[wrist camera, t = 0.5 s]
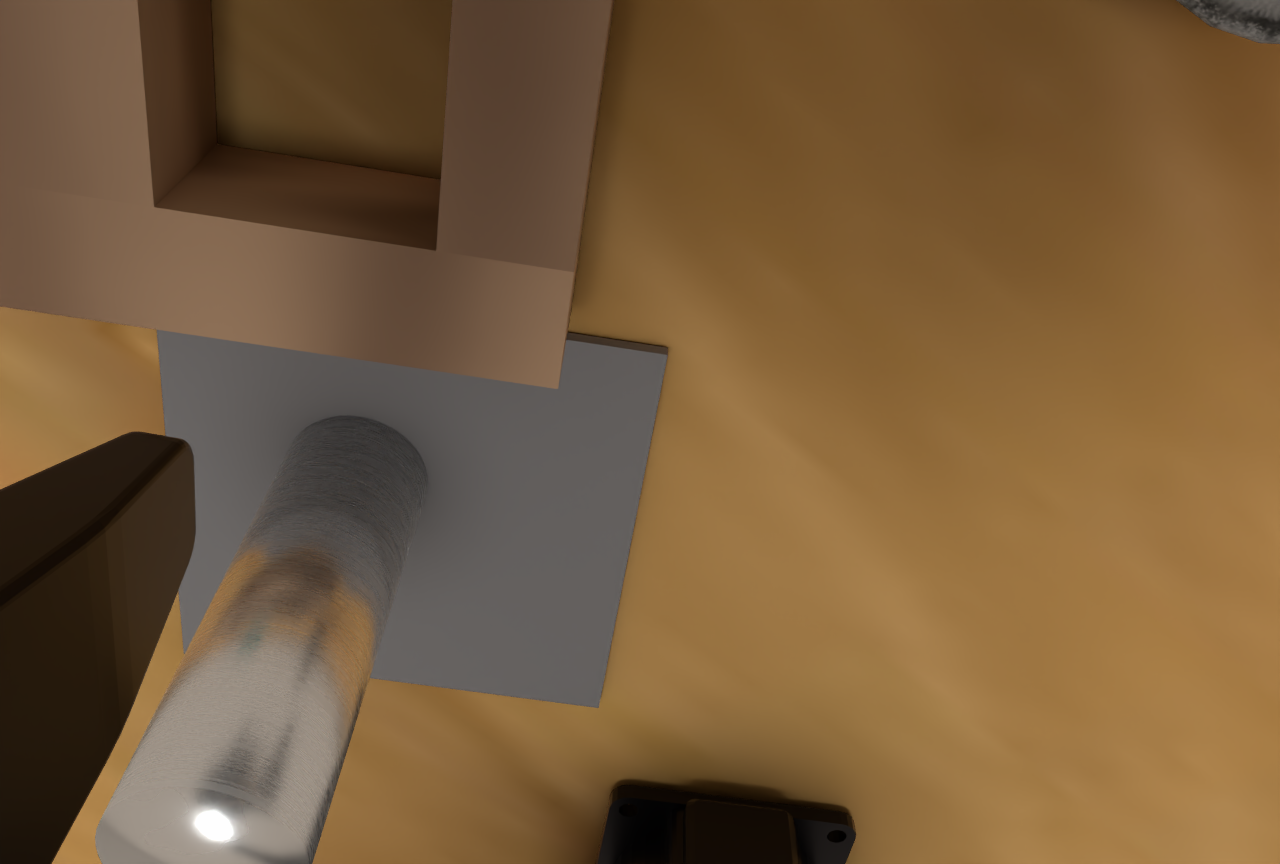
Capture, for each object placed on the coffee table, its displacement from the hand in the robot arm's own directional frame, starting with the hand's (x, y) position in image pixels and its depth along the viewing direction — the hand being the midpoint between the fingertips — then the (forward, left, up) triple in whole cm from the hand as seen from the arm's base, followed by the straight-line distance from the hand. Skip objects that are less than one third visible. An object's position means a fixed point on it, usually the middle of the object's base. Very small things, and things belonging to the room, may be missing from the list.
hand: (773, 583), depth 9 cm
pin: (-9, +6, -13) cm, 17 cm away
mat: (-10, +5, -13) cm, 17 cm away
